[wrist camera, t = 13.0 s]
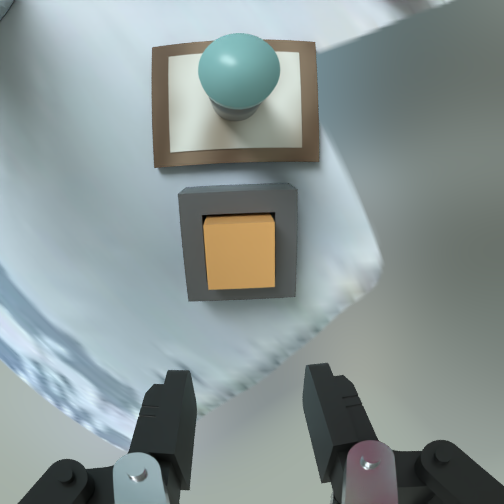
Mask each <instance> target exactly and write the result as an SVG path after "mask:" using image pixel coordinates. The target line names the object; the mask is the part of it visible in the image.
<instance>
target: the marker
mask: <svg viewBox="0 0 504 504" xmlns="http://www.w3.org/2000/svg"><path fill="white" fill-rule="evenodd" d="M198 75H199V79H200V82H201V84H202V87H203V89H204V91H205V93H206V94H207V95H208V97H209V99H210V101H211V104H212V106H213V109H214V110H215V112H216V113H217V114H218V115H219V116H220V117H222V118H224V119H226V120H229V121H242V120H245V119H247V118H249V117H250V116H252V115H253V114H254V113H255V112H256V110H257V109H258V107H259V106H260V105H261V103H262V102H263V101H264V100H265V99H266V98H267V97H268V96H269V95H270V94H271V92H272V91H273V90H274V88H275V87H276V85H277V83H278V80H279V77H280V62H279V59H278V56H277V54H276V53H275V51H274V50H273V48H272V47H271V46H270V45H269V44H268V43H267V42H265V41H264V40H262V39H260V38H259V37H256V36H253V35H250V34H244V33H236V34H229V35H226V36H223V37H220V38H218V39H217V40H215V41H213V42H212V43H211V44H210V45H209V46H208V47H207V48H206V49H205V51H204V52H203V54H202V56H201V58H200V61H199V65H198Z"/></svg>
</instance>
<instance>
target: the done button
mask: <svg viewBox="0 0 504 504" xmlns="http://www.w3.org/2000/svg"><path fill="white" fill-rule="evenodd" d="M203 229H204V243H205V256H206V268H207V280H208V290H217V289H242V288H264V287H275V222H274V220H273V218H272V216H271V214H270V212H260V213H233V214H211V215H207V217H206V219H205V222H204V224H203Z"/></svg>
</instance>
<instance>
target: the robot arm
mask: <svg viewBox="0 0 504 504" xmlns="http://www.w3.org/2000/svg"><path fill="white" fill-rule="evenodd" d="M13 1H14V0H0V20H1V19H2V17H3V16H4V15H5V13H6V12H7V11H8V9H9V8H10V6H11V4H12V3H13ZM303 409H304V413H305V418H306V421H307V426H308V430H309V433H310V438H311V442H312V446H313V450H314V454H315V459H316V463H317V466H318V471H319V475H320V479H321V483H327V482H331V485H332V488H333V493H332V495H331V503H330V504H504V486H503V485H502V484H501V483H499V482H498V481H497V480H496V479H495V478H493V477H492V476H491V475H490V474H489V473H488V472H486V471H485V470H484V469H483V468H481V466H479V465H478V464H477V463H476V462H475V461H473V460H472V459H471V458H470V457H469V456H468V455H466V454H465V453H464V452H463V451H462V450H461V449H459V448H458V447H457V446H456V445H455V444H453V443H451V442H449V441H446V440H436V441H433V442H431V443H429V444H427V445H426V446H425V447H424V449H423V450H422V451H394V450H392V449H391V448H390V447H389V446H387V445H386V444H384V443H382V442H380V441H379V440H378V438H377V436H376V434H375V432H374V430H373V427H372V425H371V423H370V421H369V418H368V416H367V414H366V411H365V409H364V407H363V406H362V403H361V400H360V398H359V397H358V393H357V391H356V389H355V387H354V385H353V383H352V382H350V381H349V380H348V379H347V378H346V377H345V376H344V375H340V376H333V373H332V371H331V369H330V366H329V364H328V363H322V364H312V365H306V369H305V378H304V389H303ZM196 417H197V406H196V398H195V393H194V388H193V383H192V378H191V373H190V371H189V370H168V372H167V375H166V378H165V382H164V384H154V385H153V386H152V387H151V388H150V389H149V390H148V391H147V392H146V394H145V396H144V400H143V403H142V407H141V410H140V413H139V417H138V420H137V424H136V427H135V431H134V434H133V438H132V442H131V445H130V449H129V452H128V454H126V455H124V456H122V457H121V458H120V459H119V460H118V461H117V462H116V463H115V465H113V466H110V467H104V468H93V469H85V468H84V466H83V465H82V464H81V463H79V462H78V461H75V460H72V459H62V460H59V461H57V462H55V463H54V464H53V465H51V466H50V468H49V469H48V470H47V471H46V472H45V473H44V474H43V475H42V477H41V478H40V479H39V480H38V481H37V482H36V484H35V485H34V486H33V487H32V488H31V489H30V490H29V491H28V493H27V494H26V495H25V496H24V497H23V499H21V501H20V502H19V503H18V504H179V499H180V490H190V479H191V467H192V456H193V446H194V436H195V426H196Z"/></svg>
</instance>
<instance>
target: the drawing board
mask: <svg viewBox="0 0 504 504" xmlns="http://www.w3.org/2000/svg"><path fill="white" fill-rule="evenodd" d="M264 41H265V42H267V43H268V44H269V45H270V46H271V47H272V48H273V50H274V51H275V53H276V54H277V56H278V59H279V62H280V77H279V80H278V83H277V85H276V87H275V88H274V90H273V91H272V92H271V94H270V95H269V96H268V97H267V98H266V99H265V100H264V101H263V102H262V103H261V105H260V106H259V107H258V109H257V110H256V112H255V113H254V114H253V115H252V116H250V117H249V118H247V119H245V120H242V121H229V120H226V119H224V118H222V117H220V116H219V115H218V114H217V113H216V112H215V110H214V109H213V106H212V104H211V101H210V99H209V97H208V95H207V94H206V93H205V91H204V89H203V87H202V84H201V82H200V79H199V75H198V65H199V61H200V58H201V56H202V54H203V52H204V51H205V49H206V48H207V47H208V46H209V45H210V44H211V43H212V42H213V41H204V42H192V43H182V44H174V45H166V46H159V47H153V48H152V130H153V152H154V168H160V167H172V166H184V165H199V164H216V163H239V162H319V115H318V85H317V64H316V48H315V42H307V41H292V40H264Z"/></svg>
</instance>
